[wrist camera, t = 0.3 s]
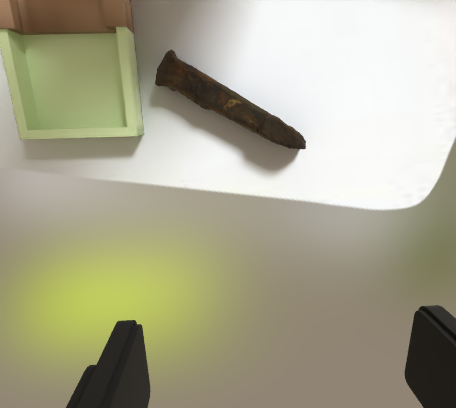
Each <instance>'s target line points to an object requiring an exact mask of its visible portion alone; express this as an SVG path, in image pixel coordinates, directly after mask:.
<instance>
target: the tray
mask: <svg viewBox="0 0 456 408" xmlns="http://www.w3.org/2000/svg"><path fill="white" fill-rule="evenodd" d="M116 32H117V33H98V34H49V35H21V34H18V33H15V32H13V31H10V30H8V29H0V48H1V52H2V57H3V62H4V66H5V71H6V76H7V80H8V85H9V89H10V94H11V99H12V103H13V108H14V113H15V117H16V122H17V127H18V131H19V136H20V140H22V139H57V138H92V137H127V136H140V135H143V134H144V130H143V121H142V111H141V101H140V91H139V81H138V71H137V61H136V52H135V42H134V34H133V33H132V32H131V31H130V30H129V29H128V28H127V27H116Z"/></svg>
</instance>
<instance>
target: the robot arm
mask: <svg viewBox="0 0 456 408" xmlns="http://www.w3.org/2000/svg"><path fill="white" fill-rule="evenodd" d="M405 379H406V382H407V384H408V385H409V387H410V388H411V390H412V391H413V393H414V394H415V396H416V397H417V398H418V400H419V401H420V403H421V404H422V406H423V407H424V408H456V318H454V317H453V316H452V315H451V314H450V313H449V312H448V311H446V310H445V309H444V308H443V307H441V306H438V305H435V306H421V307H420V308H419V310H418V311H416V312H415V314H414V320H413V326H412V332H411V338H410V344H409V350H408V356H407V362H406V368H405ZM149 398H150V382H149V375H148V367H147V360H146V351H145V344H144V336H143V329H142V325H141V324H138V325H137V323H136V321H135V320H127V321H118V322H117V323H116V325H115V327H114V329H113V331H112V333H111V336H110V338H109V340H108V342H107V344H106V346H105V348H104V350H103V352H102V355H101V357H100V359H99V361H98V363H97V365H90V366H89V367H87V368H86V370H85V371H84V373H83V375H82V377H81V379H80V381H79V383H78V385H77V387H76V389H75V391H74V393H73V395H72V397H71V399H70V401H69V403H68V405H67V407H66V408H147V407H148V403H149Z"/></svg>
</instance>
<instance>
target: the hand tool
mask: <svg viewBox="0 0 456 408" xmlns="http://www.w3.org/2000/svg"><path fill="white" fill-rule="evenodd" d="M155 84H156V85H157V86H167V87H169V88H170V89H171V90H173V91H178V92H180V93H181V94H183V95H185V96H186V97H187V98H189V99H191V100H193V102H195V103H197V104H198V105H200V106H201V107H202V108H204V109H210V110H213V111H215V112H217V113H219V114H220V115H223V116H225V117H227V118H228V119H230V120H232V121H234V122H236V123H238V124H240V125H242V126H243V127H245V128H247V129H249V130H251V131H252V132H255V133H257V134H259V135H260V136H262V137H264V138H266V139H268V140H270V141H272V142H274V143H276V144H280V145H282V146H284V147H288V148H290V149H291V148H293V149H294V148H297V149H305V148H306V146H305V143H306V141H305V140H304V138H303V136H302V135H301V134H300V133H299V132H297V131H296V130H295V129H294V128H293V127H291V126H288V125H286V124H285V123H284V122H283V121H282V120H281V119H279V118H278V117H276V116H273V115H271V114H269V113H268V112H267V111H265V110H263V109H261V108H260V107H258V106H256V105H255V104H253V103H251V102H250V101H248V100H247V99H245V98H243V97H242V96H240V95H239V94H237V93H236V92H234V91H232V90H230V89H229V88H227V87H226V86H224V85H222V84H220V83H219V82H217V81H215V80H214V79H212V78H211V77H209V76H207V75H206V74H204V73H202V72H201V71H199V70H197V69H196V68H194V67H193V66H190V65H188V64H186V63H185V62H183V61H181V60H179V59H178V58H177V57H176V55H175V52H174V51H173V50H169V51H168V52H167V53H166V55H165V57H164V58H163V60H162V62H161V64H160V65H159V67H158V69H157V75H156V81H155Z"/></svg>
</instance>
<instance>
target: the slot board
mask: <svg viewBox="0 0 456 408" xmlns="http://www.w3.org/2000/svg"><path fill="white" fill-rule="evenodd" d="M116 27H127V28H128V29H129V30H130V31H131V32H132V33H133V34H134V32H133V22H132V12H131V2H130V0H0V29H8V30H10V31H13V32H15V33H18V34H21V35H49V34H98V33H117V32H116Z"/></svg>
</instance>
